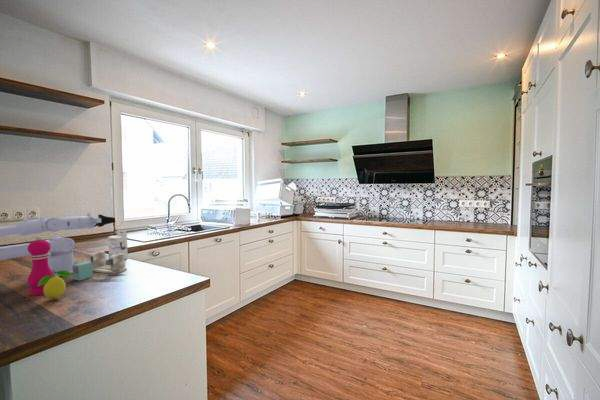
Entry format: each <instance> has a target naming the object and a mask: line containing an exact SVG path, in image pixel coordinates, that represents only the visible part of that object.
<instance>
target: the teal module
mask: <svg viewBox="0 0 600 400" xmlns="http://www.w3.org/2000/svg"><path fill="white" fill-rule="evenodd" d="M72 268H73V273H72V279H73V280H74V281H75V280H76V281H79V282H80V281H82V280H86V279H89V278H93V277H94V273H93V272H94V271H93V270H92V268H93V267H92V262H91V261H83V262H78V263H74V264H73V265H72Z"/></svg>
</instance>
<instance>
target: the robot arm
mask: <svg viewBox="0 0 600 400" xmlns="http://www.w3.org/2000/svg"><path fill="white" fill-rule="evenodd" d="M115 222H116V218H115V217H113V216H112V217H111V216H105V215H103V214H98V215H97V217H94V216H93V215H92V213H90V212H88V213H87V214H86V215H77V216H64V217H61V216H59V217H57V216H55V217H51V216H48V217H47V216H43V217H42V216H41V217H40V218H35V219H29V218H23V220H19V222H17V223H16V224H14V225H7V226H5V225H4V226H0V237H5V236H9V235H15V234H17V235H20V236H29V235H31V236H32V235H36V234H43V233H45V232H54V233H56V232H59V231H62V230H63V231H70V230H71V231H72V230H73V231H74V230H83V229H84V230H85V229H88V230H91V229H93V228H95V227H97V226H98V228H101V227H104V226H105V225H108V224H109V225H110V224H113V223H115ZM45 240H46V241H48V242H49V243H50V245H51V248H50V250H49V251H48V253H49V257H48V265H49V267H50V269H51V270H52V271H53V269H54V271H55V272H54V275H55V276H56V277H61V276H60V275H58V274H57V273H56V272H58V271H62V270H65V271H68V272H69V273H71V274H73V268H72V265H73V264H75V263H74V262H75V261H74V249H75V246H76V242H75V240H74V239H72V238H71V237H63V236H61V235H60V236H59V235H56V236H53V237H51V238H49V239H45ZM30 243H31V242H28V243H20V244H12V245H11V244H10V245H6V246H5V245H4V246H0V261H2V260H8V259H14V258H21V257H26V256H27V257H29V256H30V255H31V253H29V252H28V250H27V249H28V245H29V244H30Z"/></svg>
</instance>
